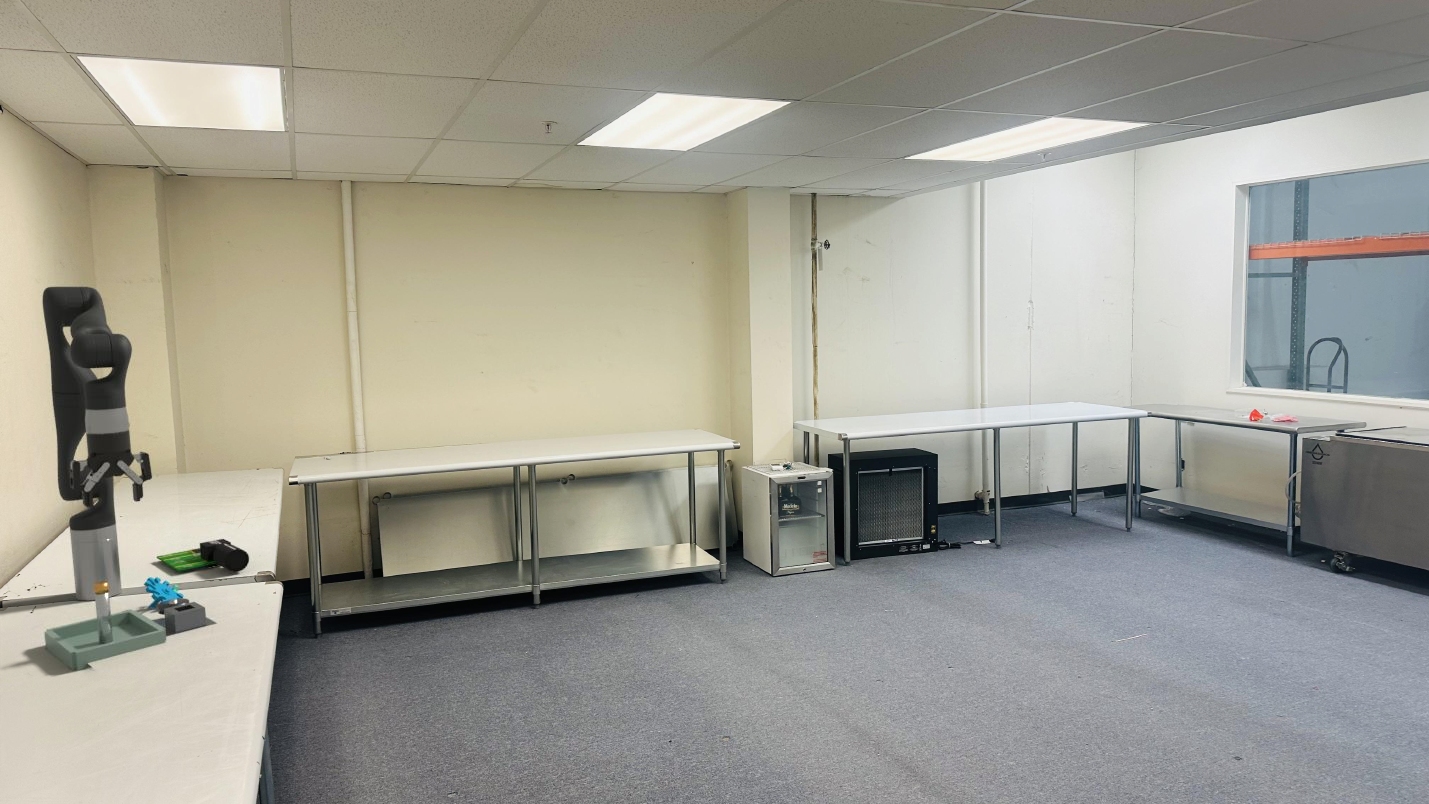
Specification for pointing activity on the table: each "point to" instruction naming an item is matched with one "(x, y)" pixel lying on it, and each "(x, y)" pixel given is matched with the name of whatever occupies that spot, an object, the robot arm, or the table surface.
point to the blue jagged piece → (161, 591)
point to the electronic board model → (209, 557)
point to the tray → (82, 639)
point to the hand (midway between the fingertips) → (114, 504)
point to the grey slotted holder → (182, 616)
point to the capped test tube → (103, 612)
